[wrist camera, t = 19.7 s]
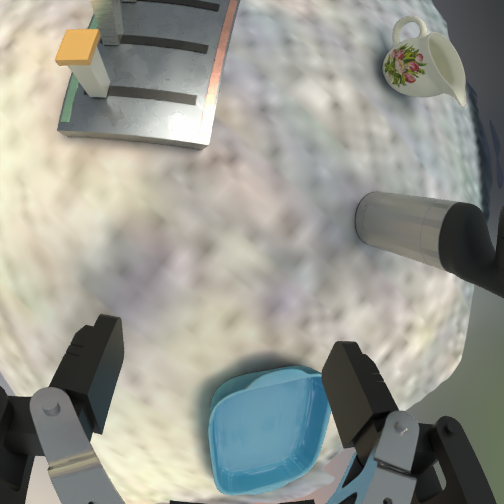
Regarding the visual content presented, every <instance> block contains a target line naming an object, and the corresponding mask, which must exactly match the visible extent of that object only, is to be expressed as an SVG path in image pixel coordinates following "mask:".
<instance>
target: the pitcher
mask: <svg viewBox="0 0 504 504" xmlns="http://www.w3.org/2000/svg"><path fill="white" fill-rule="evenodd" d="M409 22H416V23H417V24H418V25H419V28H420V34H419V37H417V38H410V39H407V40H404V41H402V42H400V41H399V36H400V31H401V28H402V27H403V26H404V25H405V24H406V23H409ZM392 41H393V48H392V49H391V50H390V51H389V52H388V54H387V55H386V57H385V59H384V62H383V66H382V70H383V75H384V77H385V79H386V81H387V83H388V84H389V85H390V86H391V87H392V88H393V89H395V90H396V91H398V92H400V93H402V94H404V95H408V96H413V97H432V96H437V95H440V94H442V93H446V94H449V95H451V96H453V97H454V98H455V99H456V100H457V102H458V103H459V104H460V105H461V106H462V107H465V106H466V96H465V73H464V69H463V65H462V63H461V60H460V57H459V56H458V54H457V51H456V50H455V48H454V47H453V45H452V44H451V43H450V41H449V40H448V39H447V38H446V37H445V36H443V35H442V34H440V33H438V32H432V33H430V34H429V35H427V28H426V25H425V23H424V21H423V20H422V19H420V18H418V17H415V16H406V17H404V18H402V19H400V20H399V21H398V22H397V23H396V24H395V26H394V28H393V33H392Z"/></svg>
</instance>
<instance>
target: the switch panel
mask: <svg viewBox="0 0 504 504" xmlns="http://www.w3.org/2000/svg"><path fill="white" fill-rule="evenodd" d="M239 3H240V0H91V4H92V8H93V11H94V15H93V17H92V19H91V22H90V24H89V27H88V29H99V32H100V35H101V36H100V39H99V41H98V44H97V48H98V51H99V53H100V56H101V59H102V61H103V64H104V67H105V69H106V72H107V74H108V77H109V79H110V84H109V88H108V92H107V96H106V98H104V97H89V95H88V94H87V92H86V91H85V90H84V88H83V87H82V85H81V84H80V82H79V81H78V80H77V78H76V77H75V75H74V74H73V72H72V74H71V77H70V80H69V84H68V87H67V91H66V95H65V98H64V102H63V106H62V110H61V115H60V119H59V124H58V128H57V131H59V132H60V133H62V134H64V135H66V136H68V137H82V138H99V139H113V140H125V141H135V142H145V143H154V144H162V145H171V146H178V147H185V148H192V149H199V150H203V149H204V148H205V147H207V146H208V145H209V142H210V136H211V130H212V125H213V119H214V114H215V109H216V104H217V99H218V94H219V89H220V84H221V79H222V74H223V70H224V65H225V60H226V56H227V52H228V47H229V43H230V39H231V34H232V30H233V26H234V22H235V18H236V14H237V10H238V6H239Z"/></svg>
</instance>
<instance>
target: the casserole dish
mask: <svg viewBox="0 0 504 504" xmlns="http://www.w3.org/2000/svg"><path fill="white" fill-rule="evenodd" d="M321 375H322V373H320V372H318V371H316V370H314V369H311V368H309V367H305V366H289V367H283V368H277V369H271V370H266V371H261V372H255V373H250V374H245V375H241V376H238V377H235V378H232V379H230V380H228V381H226V382H225V383H223V384H222V385H221V386H220V387H219V388H218V389H217V390H216V392H215V393H214V396H213V398H212V401H211V405H210V411H209V422H208V439H209V448H210V455H211V463H212V471H213V477H214V482H215V485H216V487H217V489H218V490H219V491H220V492H221V493H223V494H226V495H243V494H250V495H255V494H262V493H265V492H269V491H272V490H275V489H278V488H281V487H283V486H284V485H286V484H287V483H289V482H291V481H293V480H295V479H298V478H299V477H301V476H303V475H304V474H306V473H307V472H308V471H309V470H310V469H311V468H312V467H313V466H314V464H315V462H316V461H317V458H318V456H319V453H320V451H321V448H322V444H323V441H324V437H325V433H326V430H327V426H328V422H329V418H330V414H331V408H330V405H329V402H328V399H327V396H326V393H325V390H324V387H323V384H322V379H321Z"/></svg>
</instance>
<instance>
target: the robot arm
mask: <svg viewBox="0 0 504 504" xmlns="http://www.w3.org/2000/svg"><path fill="white" fill-rule="evenodd" d="M355 223H356V230H357V233H358V235H359V237H360V238H361V240H362V241H363V242H365V243H366V244H368V245H371V246H374V247H377V248H380V249H383V250H386V251H389V252H392V253H395V254H398V255H401V256H404V257H407V258H410V259H413V260H416V261H419V262H422V263H425V264H427V265H430V266H434V267H436V268H439V269H442V270H445V271H447V272H450V273H453V274H455V275H456V276H458V277H459V278H461V279H463V280H465V281H467V282H470V283H472V284H475V285H478V286H479V287H482V288H484V289H486V290H488V291H490V292H492V293H494V294H496V295H498V296H500V297H502V298H504V206H503V207H502V210H501V212H500V218H499V225H498V236H497V246H496V252H495V250H494V247H493V245H492V242H491V239H490V236H489V231H488V227H487V222H486V219H485V217H484V214H483V213H482V211H481V210H480V209H479V208H478V207H477V206H475V205H473V204H469V203H463V202H456V201H449V200H441V199H434V198H426V197H419V196H410V195H402V194H394V193H384V192H372V193H370V194H368V195H366V196H365V197H364V198H363V199H362V201H361V202H360V204H359V206H358V208H357V212H356V219H355ZM123 359H124V342H123V332H122V321H121V318H120V317H115V316H110V315H105V314H100V315H99V317H98V319H97V321H96V323H95V325H94V327H93V326H89V325H85V326H84V327H83V328H82V329H80V330H79V331H78V332H77V333H76V334H75V336H74V338H73V339H72V341H71V345H69V347H68V349H67V351H66V354H65V355H64V357H63V359H62V361H61V363H60V365H59V367H58V369H57V371H56V373H55V375H54V377H53V379H52V381H51V383H50V385H49V387H46V388H43V389H40V390H38V391H37V392H36V393H35V394H34V395H33V396H32V397H18V396H8V395H7V394H6V392H5V390H4V389H3V388H2V387H1V386H0V504H25V500H26V495H27V489H28V485H29V480H30V475H31V470H32V466H33V462H34V458H35V456H45V457H46V459H47V462H48V465H49V468H48V474H49V476H50V479H51V482H52V484H53V486H54V488H55V490H56V493H57V495H58V497H59V499H60V501H61V503H62V504H125V502H124V501H123V499H122V498H121V496H120V495H119V493H118V492H117V490H116V488H115V487H114V485H113V484H112V482H111V480H110V479H109V477H108V475H107V473H106V472H105V470H104V468H103V466H102V465H101V463H100V461H99V459H98V457H97V455H96V453H95V452H94V450H93V448H92V446H91V444H90V441H91V437H92V433H93V432H94V433H98V434H102V433H103V429H104V425H105V421H106V418H107V414H108V410H109V407H110V403H111V400H112V396H113V393H114V390H115V386H116V383H117V380H118V376H119V373H120V370H121V367H122V364H123ZM379 373H380V372H379V370H378V368H377V366H376V365H375V363H374V362H373V361H372V360H371V359H370V358H369V357H368V356H367V355H366V354H363V353H362V352H361V350H360V348H359V346H358V344H357V343H356V342H351V341H337V342H336V343H335V344H334V346H333V348H332V350H331V352H330V354H329V356H328V359H327V361H326V363H325V365H324V367H323V369H322V375H321V379H322V384H323V387H324V390H325V393H326V396H327V399H328V402H329V405H330V408H331V411H332V414H333V417H334V420H335V423H336V426H337V429H338V432H339V436H340V439H341V442H342V445H343V448H351V447H355V449H356V452H355V453H354V455H353V456H352V459H351V461H350V463H349V465H348V467H347V469H346V472H345V474H344V476H343V478H342V480H341V482H340V484H339V486H338V488H337V490H336V492H335V493H334V494H333V496H332V497H331V498H330V499H329V500H328V502H327V503H326V504H496V501H495V498H494V496H493V493H492V491H491V488H490V486H489V484H488V481H487V479H486V477H485V474H484V472H483V470H482V468H481V465H480V463H479V461H478V459H477V457H476V455H475V452H474V450H473V449H472V446H471V445H470V442H469V440H468V438H467V436H466V434H465V432H464V430H463V428H462V426H461V425H460V423H459V422H458V421H457V420H455V419H454V418H452V417H449V416H443V417H441V418H440V419H439V420H438V421H437V422H436V423H435V424H434V425H431V424H421V423H418V422H417V421H416V419H415V418H414V417H413V416H412V415H411V414H409V413H407V412H405V411H399V409H398V407H397V405H396V403H395V401H394V399H393V397H392V395H391V393H390V391H389V389H388V388H387V386H386V384H385V382H384V380H383V378H382V376H381V374H379ZM438 461H439V464H440V466H441V468H442V471H443V473H444V476H445V479H446V487H445V489H444V490H442V488H441V485H440V483H439V480H438V477H437V475H436V472H435V469H434V467H433V465H434V464H435V463H437V462H438ZM170 504H203V503H190V502H180V501H172V500H170ZM279 504H315V503H314V500H305V501H297V502H286V503H279Z"/></svg>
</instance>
